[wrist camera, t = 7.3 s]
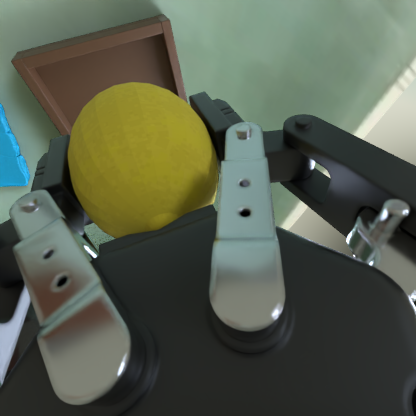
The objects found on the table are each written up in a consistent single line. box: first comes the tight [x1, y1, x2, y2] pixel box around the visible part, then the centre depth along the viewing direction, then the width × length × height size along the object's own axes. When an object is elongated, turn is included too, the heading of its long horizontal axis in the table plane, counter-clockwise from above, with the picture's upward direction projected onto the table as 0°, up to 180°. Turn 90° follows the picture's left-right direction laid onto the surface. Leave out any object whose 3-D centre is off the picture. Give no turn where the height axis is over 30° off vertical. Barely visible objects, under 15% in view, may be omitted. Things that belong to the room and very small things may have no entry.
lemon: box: [68, 82, 219, 239], centre depth 10 cm, size 6×6×8 cm
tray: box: [11, 14, 187, 136], centre depth 26 cm, size 13×16×3 cm
